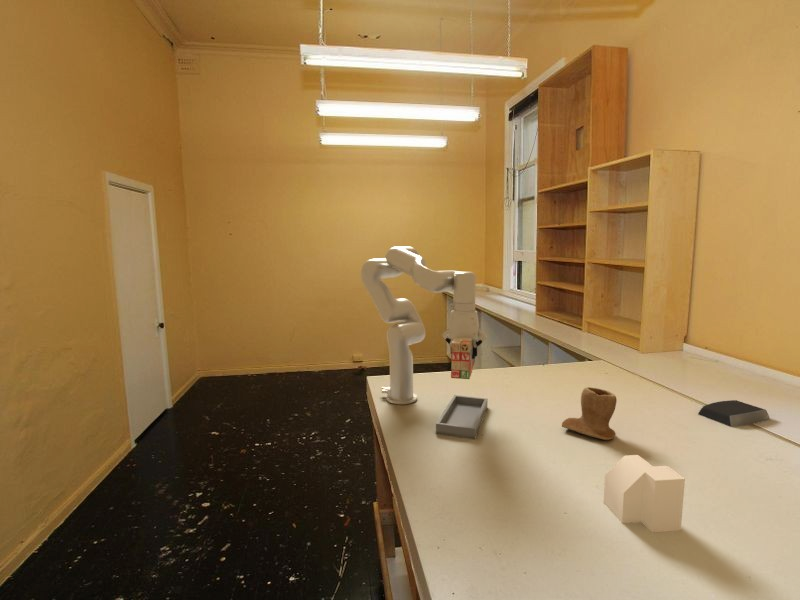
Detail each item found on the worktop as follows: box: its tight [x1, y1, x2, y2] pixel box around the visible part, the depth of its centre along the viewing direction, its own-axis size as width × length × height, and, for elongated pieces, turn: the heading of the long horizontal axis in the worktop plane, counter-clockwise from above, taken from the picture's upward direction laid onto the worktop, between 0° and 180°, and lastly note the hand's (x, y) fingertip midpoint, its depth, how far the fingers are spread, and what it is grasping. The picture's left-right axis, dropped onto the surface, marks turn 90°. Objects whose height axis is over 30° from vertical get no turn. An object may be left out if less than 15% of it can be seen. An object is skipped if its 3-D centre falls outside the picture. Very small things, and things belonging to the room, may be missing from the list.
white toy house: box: [602, 454, 686, 533], centre depth 94 cm, size 11×11×12 cm
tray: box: [435, 394, 488, 440], centre depth 149 cm, size 13×28×4 cm, turn 160°
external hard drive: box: [697, 399, 771, 428], centre depth 148 cm, size 13×19×4 cm
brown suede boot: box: [561, 386, 617, 441], centre depth 137 cm, size 15×12×15 cm
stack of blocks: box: [450, 337, 476, 380], centre depth 146 cm, size 21×6×12 cm, turn 165°
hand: (463, 356), depth 146 cm, fingers closed on stack of blocks, 6 cm apart
